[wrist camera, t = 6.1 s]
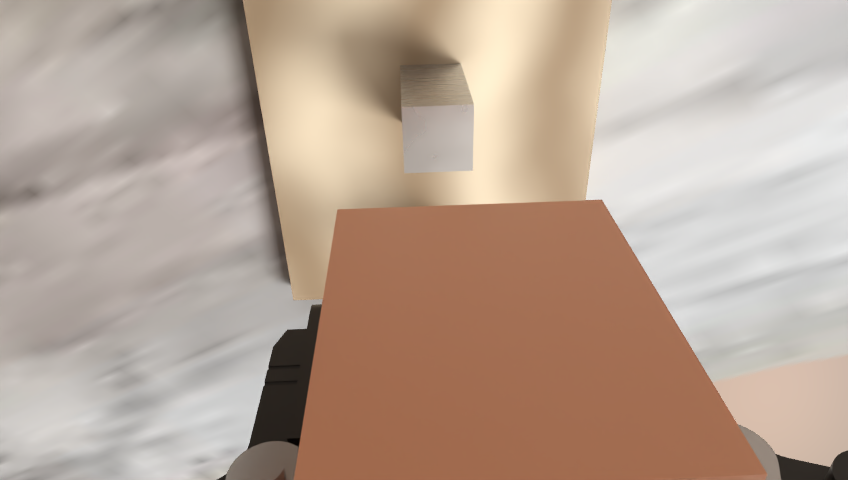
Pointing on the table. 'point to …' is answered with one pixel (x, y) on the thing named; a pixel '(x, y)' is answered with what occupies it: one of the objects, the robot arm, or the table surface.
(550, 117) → the board
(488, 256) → the salmon orange block
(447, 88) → the steel post
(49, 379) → the table surface
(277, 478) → the robot arm
